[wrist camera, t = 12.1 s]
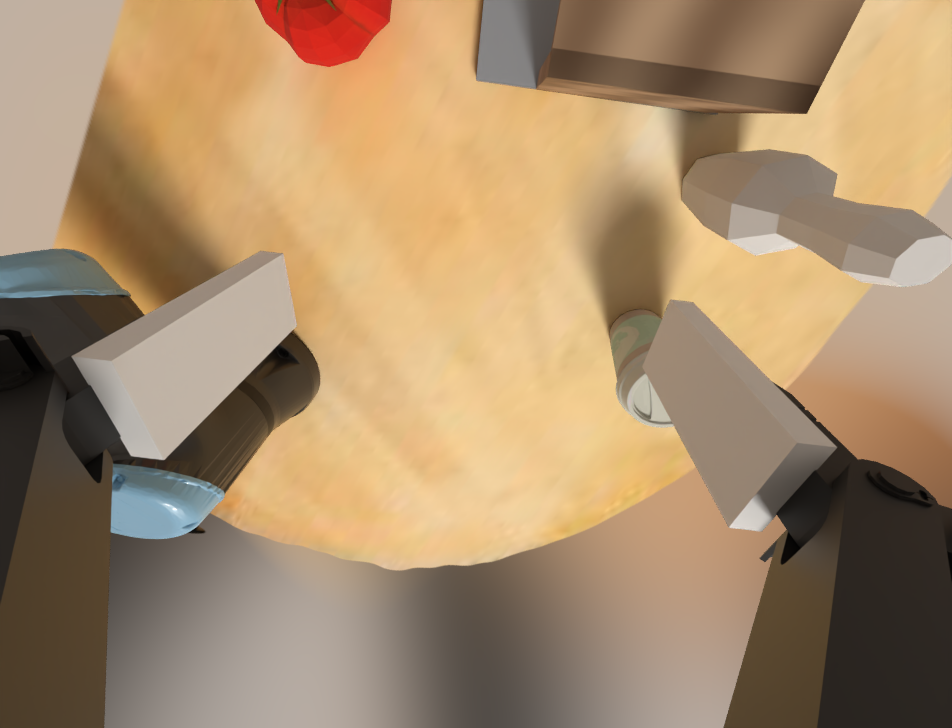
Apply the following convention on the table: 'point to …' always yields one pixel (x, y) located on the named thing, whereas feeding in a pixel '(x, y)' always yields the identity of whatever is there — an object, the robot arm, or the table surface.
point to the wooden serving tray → (698, 52)
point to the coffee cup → (636, 366)
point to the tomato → (326, 26)
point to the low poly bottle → (811, 217)
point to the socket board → (517, 41)
